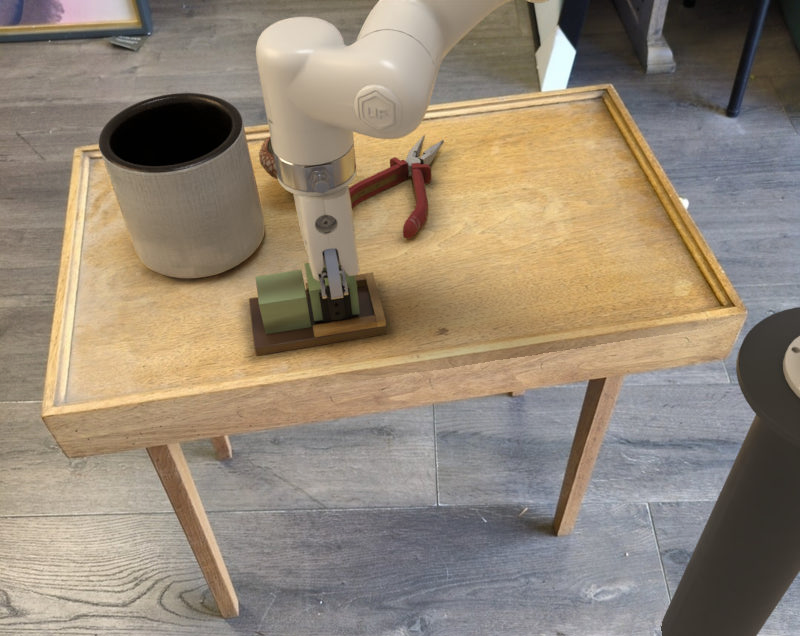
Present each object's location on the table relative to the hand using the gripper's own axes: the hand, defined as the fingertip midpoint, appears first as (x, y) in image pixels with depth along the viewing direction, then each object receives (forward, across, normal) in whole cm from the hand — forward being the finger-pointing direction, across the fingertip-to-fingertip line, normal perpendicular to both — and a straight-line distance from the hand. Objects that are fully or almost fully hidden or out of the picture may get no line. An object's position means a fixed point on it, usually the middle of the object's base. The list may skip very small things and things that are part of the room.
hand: (334, 301), depth 92 cm
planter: (+3, +17, +14) cm, 22 cm away
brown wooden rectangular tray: (+2, 0, +2) cm, 3 cm away
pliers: (+3, +20, -12) cm, 24 cm away
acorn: (+3, +24, +2) cm, 24 cm away
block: (0, 0, 0) cm, 0 cm away
